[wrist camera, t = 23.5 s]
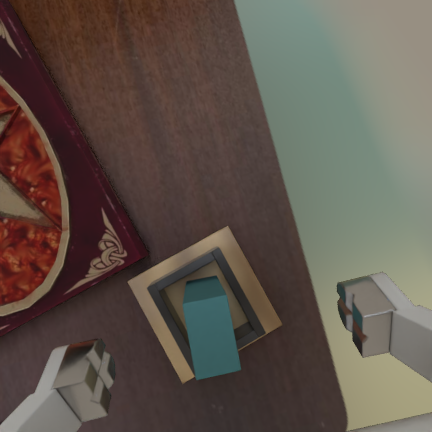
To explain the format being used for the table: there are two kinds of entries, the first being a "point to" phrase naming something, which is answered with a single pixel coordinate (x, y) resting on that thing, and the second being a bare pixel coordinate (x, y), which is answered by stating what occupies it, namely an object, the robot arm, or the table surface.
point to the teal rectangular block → (209, 328)
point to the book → (49, 192)
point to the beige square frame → (195, 269)
